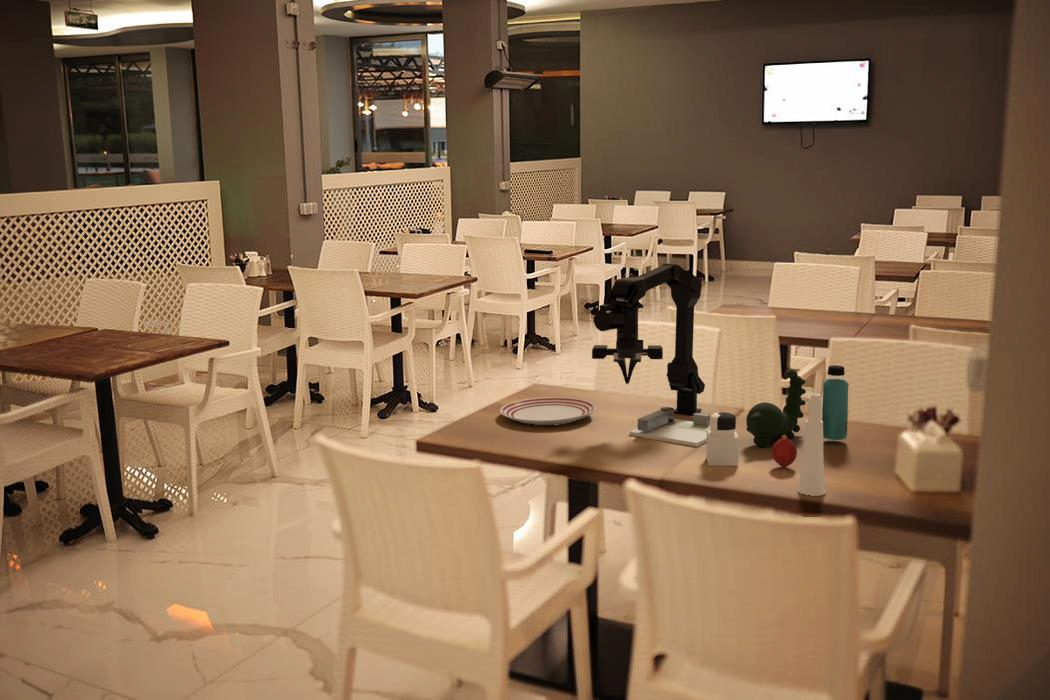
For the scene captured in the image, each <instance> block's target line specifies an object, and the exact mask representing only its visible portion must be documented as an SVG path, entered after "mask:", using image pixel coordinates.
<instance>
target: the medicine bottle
mask: <svg viewBox="0 0 1050 700" xmlns="http://www.w3.org/2000/svg"><path fill="white" fill-rule="evenodd" d="M736 419H737V417H736V415H734V414H733V413H730V412H727V411H723V412H722V411H720V412H719V411H718V412H715V413H713V414H710V430H707V442H706V444H705V445H706V448H705V449H706V452H705V453H706V455H705V456H706V461H707V464H708V466H709V467H739V463H740V462H739V461H740V459H739V458H740V456H739V455H740V437H739V434H738V431H737V427H736V424H737V420H736Z"/></svg>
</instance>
